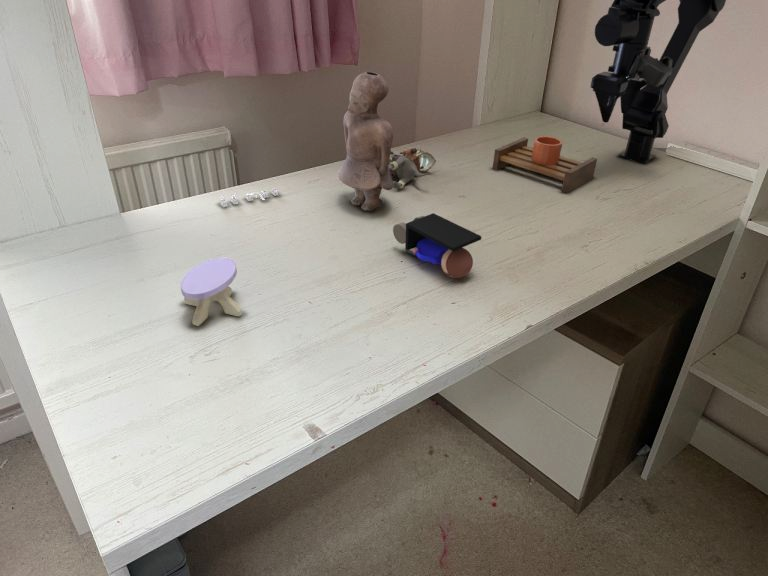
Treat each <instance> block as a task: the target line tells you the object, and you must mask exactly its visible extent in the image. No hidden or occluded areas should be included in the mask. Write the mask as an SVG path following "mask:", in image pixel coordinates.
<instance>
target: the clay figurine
mask: <svg viewBox="0 0 768 576" xmlns="http://www.w3.org/2000/svg"><path fill="white" fill-rule="evenodd" d="M388 93H389V84H388V82H387V80H386V79H385V78H384V77H383V76H382V75H381V74H379V73H377V72H374V71H365V72H362V73H360V74H358V75H357V76H356V77H355V78H354V80H353V82H352V87H351V90H350V92H349V99H348V100H349V103H348V107H347V111H346V112H345V113H344V116H343V121H342V122H343V130H344V131H343V133H344V140H345V148H346V158H345V159H344V162H343V163H342V165H341V166H340V168H339V170H338V172H337V175H338V179H339V181H340V182H341V183H342V184H344V186H345V185H346V186H348V187H349V188H352V189H354V193H355V194H354V196H353V198H352V199H351V201H350V202H351V204H352V205H353V206H360V208H361V210H363V211H368V212H371V211H374V210H375V209H377V208H378V207H381V206H382V205H383V204H384V200H383V199H382V198H380V197H381V193H382V189H383V190H385V191H391V190H393V189H394V188H393V183H394V182H393V181H394V180H393V177H392V178H391V175H390V171H389V168H388V165H389V160H390V152H391V151H392V145H393V140H394V130H393V127H392V125H391V123H390V122H388V121H387V120H386V119H384V118H383V117H381V116H380V115H379V114H378V105H379V104H380V103H381V102H382V101H383V100H385V98H386V97H387V96H388Z"/></svg>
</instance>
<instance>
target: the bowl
mask: <svg viewBox="0 0 768 576" xmlns="http://www.w3.org/2000/svg"><path fill="white" fill-rule="evenodd" d="M563 143H564V142H563V140H562V139H560V138H557V137H554V136H548V135H546V136H545V135H541V136H537V137H535V138H534V143H533V147H532V148H533V153H532V161H533V162H535V163H537V164H541V165H556V164H558V162H559V158H560V156H561V153H562V147H563Z"/></svg>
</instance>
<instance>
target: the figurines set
mask: <svg viewBox="0 0 768 576" xmlns="http://www.w3.org/2000/svg"><path fill="white" fill-rule="evenodd" d="M224 194H225V193H224V192H223V193H222V196H219V197H220V198H221V199H219V202H220V203H219V204H220V206H221V207H222V208H228V201H227V200H226V199H225V196H224ZM271 194H272V195H273V196H275V197H276V196H279V190H278V188H272V189H271ZM237 195H238V194H237V191H235V193H232V194H231V197H230V202H231V204H233V205H238V204H239V199H238V198H237V197H238V196H237ZM253 195H254V197H253ZM258 195H259V197H260V200H262V201H266V198H269V197H270V195H269V192H268V191H267V190H261V193H260V192H252V193H247V194H246V195H245V198H246V200H247V201H248V202H253V201H254V198H256V199H257V198H258Z"/></svg>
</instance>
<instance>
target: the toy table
mask: <svg viewBox="0 0 768 576" xmlns="http://www.w3.org/2000/svg"><path fill="white" fill-rule="evenodd" d="M237 274H238V270H237V263H236V262H235V261H234V259H232V258H230V257H214V258H211V259H207V260H205V261H203V262H200V263H199V264H197V265H195V266H194V267H193V268H191V269H190V270H188V271H187V272H186V273H185V275H184V276H183V277H182V279H181V281H180V291H181V294H182V296H183V297H184V298H183V301H184V304H186V305H189V306H192V307H193V306H194V307H195V310H194V313H193V316H192V322H191V323H192V325H193V326H197V327H199V326H201V325H202V323H204V322H205V321H206V320H207V319H208V318H209V308H210V304H211V302H214V301H217V302H218V303H219V304H220V306H221V307H222V309H223V312H224V314H226V315H231V316H234V317H240V316H242V314H243V310H242V308H241V306H240V305H239V304H238V303H237V302H236V301H235V300H234V299H233V298H232V297H231V295H232V294H233V290H232V287H231V286H230V285H231V284H232V283H233V281H234V280H235V278H236V276H237Z"/></svg>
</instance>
